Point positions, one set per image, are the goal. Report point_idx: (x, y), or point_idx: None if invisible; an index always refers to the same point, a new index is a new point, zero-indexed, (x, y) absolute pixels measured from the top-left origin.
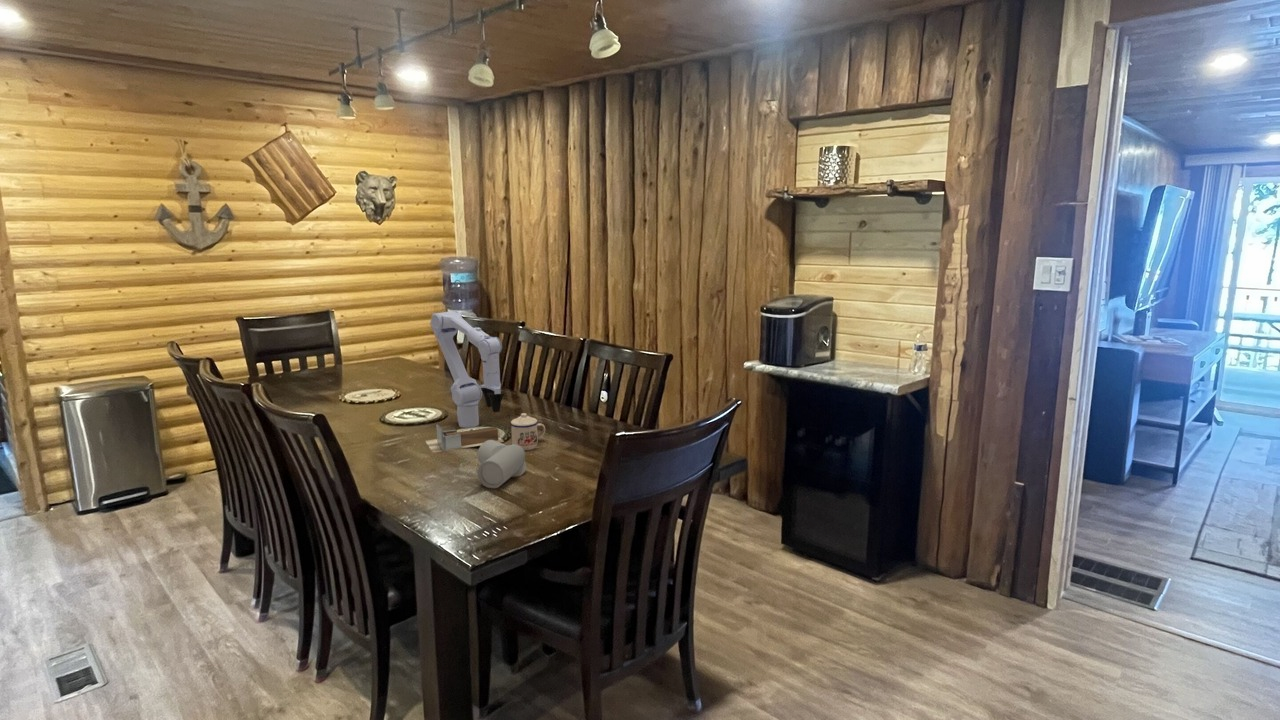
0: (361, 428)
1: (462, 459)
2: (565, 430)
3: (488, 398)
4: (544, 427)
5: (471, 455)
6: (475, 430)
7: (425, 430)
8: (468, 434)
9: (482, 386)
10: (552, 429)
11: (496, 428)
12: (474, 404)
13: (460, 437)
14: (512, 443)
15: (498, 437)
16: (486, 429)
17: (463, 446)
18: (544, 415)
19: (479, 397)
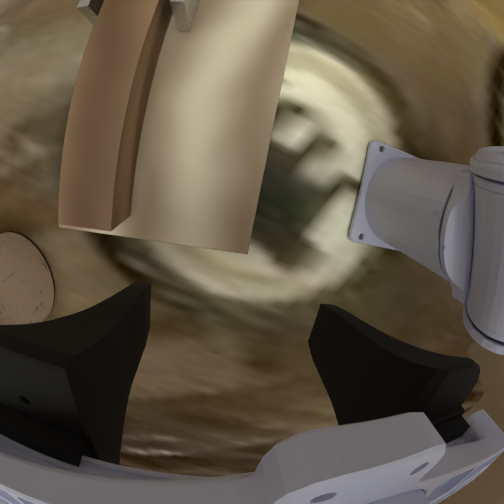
0: (500, 5)
1: (27, 32)
2: (134, 433)
3: (350, 356)
4: None
5: (34, 64)
6: (108, 97)
7: (445, 62)
8: (87, 50)
9: (281, 484)
10: (161, 420)
11: (74, 224)
12: (442, 251)
13: (83, 12)
14: (4, 237)
15: (125, 229)
16: (87, 164)
17: None
18: None
19: (469, 311)
